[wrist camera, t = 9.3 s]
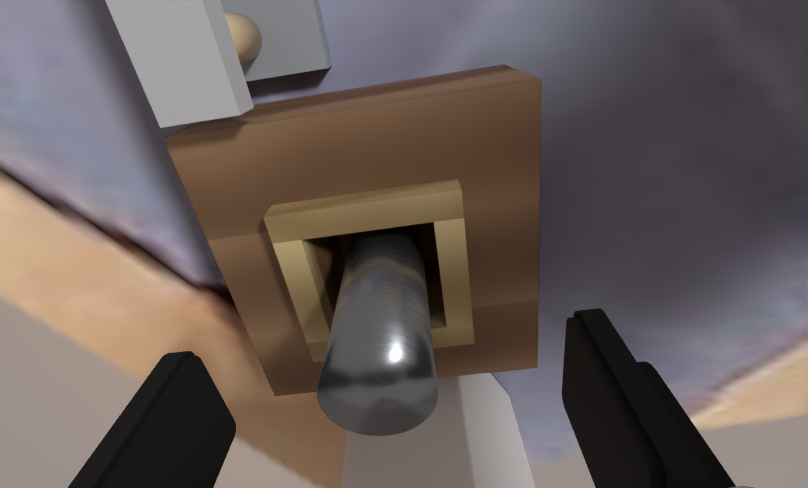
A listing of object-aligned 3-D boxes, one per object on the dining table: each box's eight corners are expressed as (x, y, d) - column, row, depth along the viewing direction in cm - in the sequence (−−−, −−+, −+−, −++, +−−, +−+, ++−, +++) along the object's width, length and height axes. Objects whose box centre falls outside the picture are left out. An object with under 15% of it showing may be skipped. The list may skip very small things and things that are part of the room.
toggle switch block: (223, 109, 17) (145, 147, 12) (504, 64, 17) (552, 83, 11) (299, 325, 23) (268, 414, 18) (510, 299, 22) (544, 385, 17)
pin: (349, 198, 18) (303, 359, 9) (415, 189, 18) (431, 344, 9) (361, 255, 20) (332, 441, 11) (423, 247, 19) (443, 429, 11)
